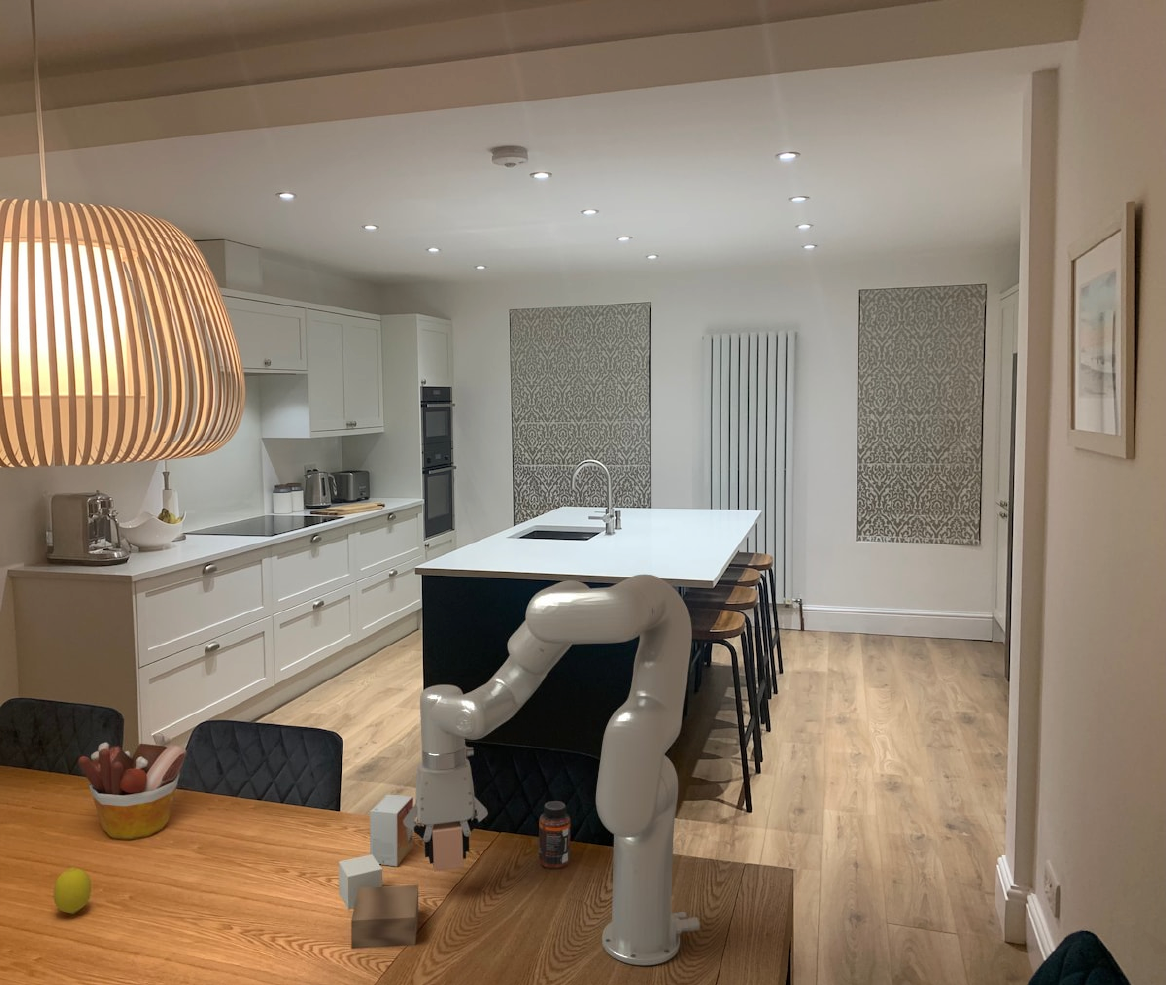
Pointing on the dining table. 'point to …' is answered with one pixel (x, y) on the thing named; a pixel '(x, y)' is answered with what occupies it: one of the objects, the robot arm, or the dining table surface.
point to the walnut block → (385, 917)
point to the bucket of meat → (134, 786)
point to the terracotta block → (447, 846)
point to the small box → (390, 830)
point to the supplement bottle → (554, 836)
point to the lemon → (72, 890)
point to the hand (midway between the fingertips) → (447, 856)
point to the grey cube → (358, 877)
